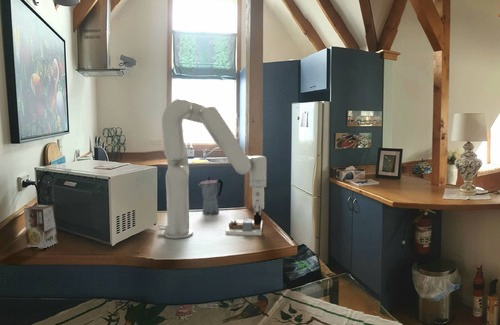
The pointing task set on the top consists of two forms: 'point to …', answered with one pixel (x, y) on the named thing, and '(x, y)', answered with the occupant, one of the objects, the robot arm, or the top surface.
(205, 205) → the moka pot
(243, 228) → the keeper
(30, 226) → the coffee box
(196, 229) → the top surface
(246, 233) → the base plate
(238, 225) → the walnut link
